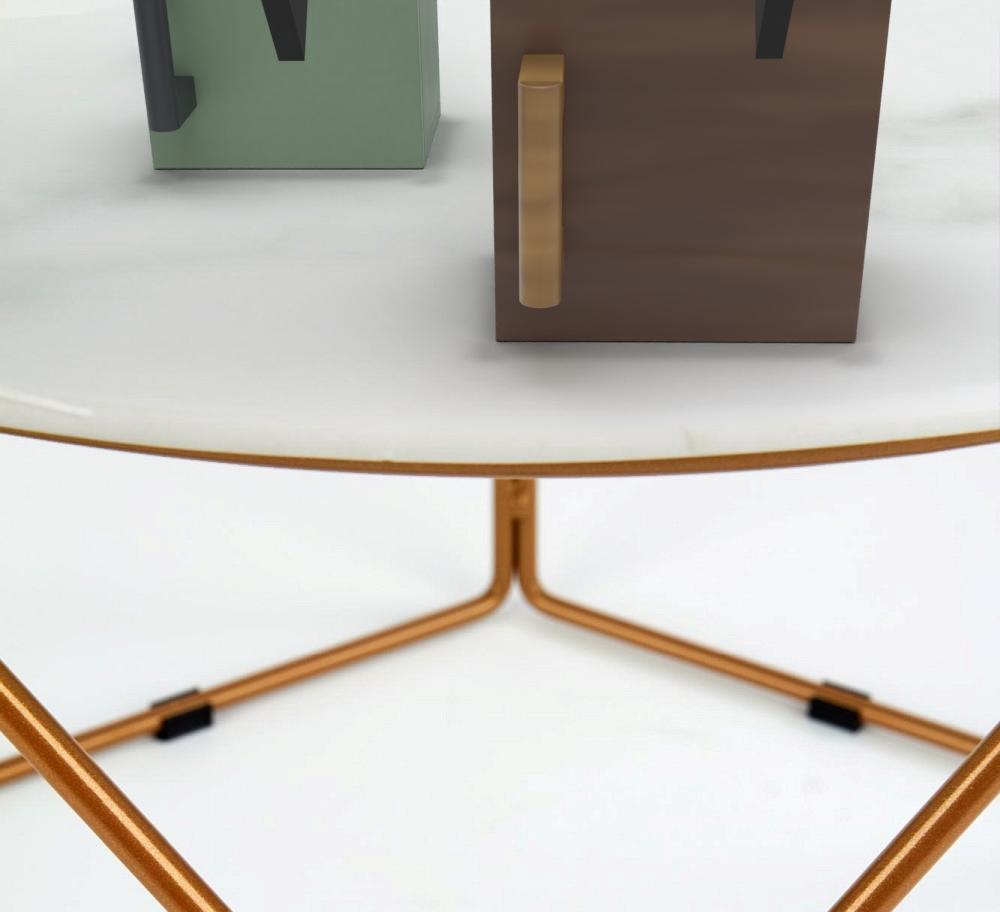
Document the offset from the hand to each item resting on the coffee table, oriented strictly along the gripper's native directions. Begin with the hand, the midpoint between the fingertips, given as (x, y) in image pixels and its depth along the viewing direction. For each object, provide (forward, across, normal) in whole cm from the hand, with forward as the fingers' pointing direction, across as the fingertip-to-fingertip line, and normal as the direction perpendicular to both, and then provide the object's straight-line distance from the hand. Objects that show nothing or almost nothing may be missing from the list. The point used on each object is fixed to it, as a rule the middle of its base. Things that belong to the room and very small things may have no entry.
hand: (529, 18), depth 49 cm
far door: (+39, -15, +17) cm, 45 cm away
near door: (+21, +5, -1) cm, 21 cm away
